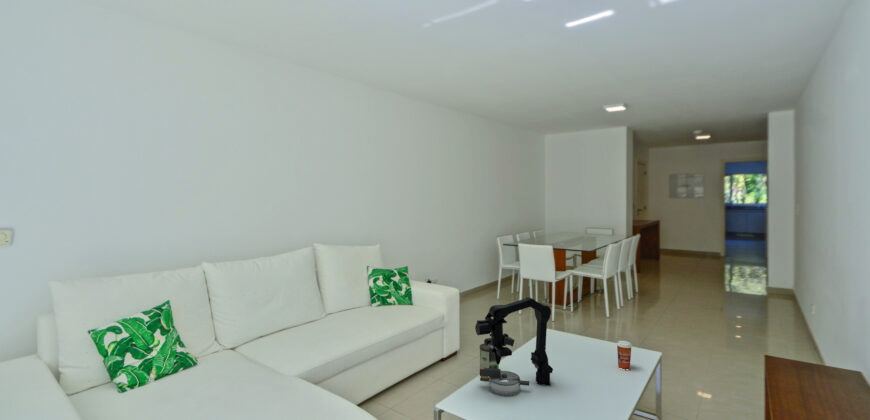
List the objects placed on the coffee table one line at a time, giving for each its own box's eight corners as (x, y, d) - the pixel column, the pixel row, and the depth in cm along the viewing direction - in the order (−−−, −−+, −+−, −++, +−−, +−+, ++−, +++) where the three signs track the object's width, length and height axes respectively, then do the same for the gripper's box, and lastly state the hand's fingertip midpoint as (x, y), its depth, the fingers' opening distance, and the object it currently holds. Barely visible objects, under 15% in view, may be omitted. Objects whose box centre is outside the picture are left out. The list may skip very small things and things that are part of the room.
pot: (529, 385, 204) (529, 375, 204) (529, 399, 190) (529, 388, 190) (482, 380, 210) (482, 370, 210) (478, 393, 195) (478, 383, 195)
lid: (519, 373, 206) (519, 364, 206) (520, 386, 191) (520, 376, 191) (480, 370, 209) (480, 362, 209) (479, 383, 194) (479, 374, 194)
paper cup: (616, 369, 222) (616, 344, 221) (616, 364, 229) (616, 339, 229) (632, 372, 219) (632, 346, 218) (631, 366, 226) (631, 341, 226)
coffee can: (499, 369, 224) (499, 343, 223) (498, 377, 214) (498, 350, 213) (480, 367, 226) (480, 342, 225) (478, 375, 216) (478, 349, 215)
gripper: (521, 336, 193) (522, 368, 193) (503, 324, 211) (504, 354, 211) (500, 339, 189) (501, 372, 190) (483, 327, 207) (484, 358, 208)
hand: (498, 364), depth 200 cm, fingers closed
